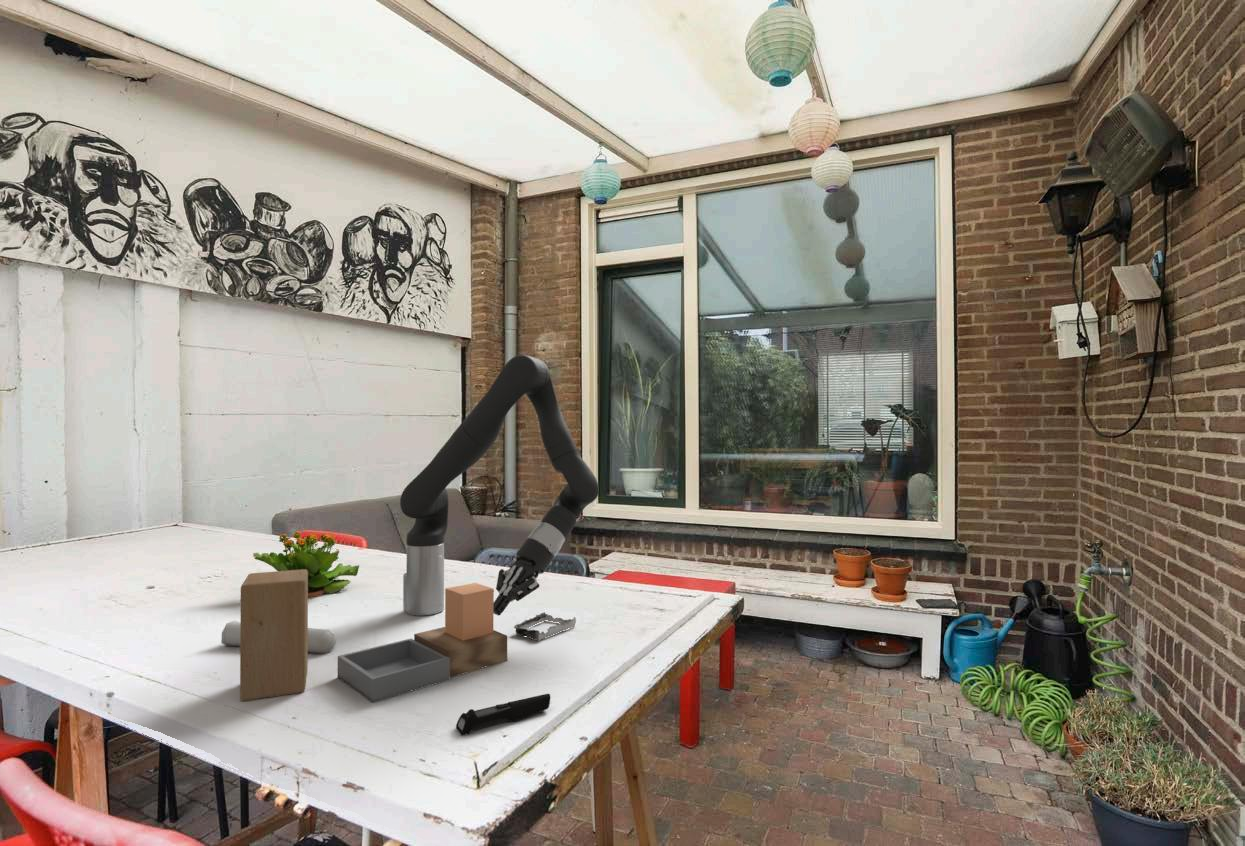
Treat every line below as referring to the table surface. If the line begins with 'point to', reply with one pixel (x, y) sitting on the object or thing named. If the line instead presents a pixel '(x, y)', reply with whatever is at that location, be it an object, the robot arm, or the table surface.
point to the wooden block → (273, 634)
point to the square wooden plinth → (466, 649)
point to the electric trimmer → (501, 713)
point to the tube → (316, 638)
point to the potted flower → (311, 562)
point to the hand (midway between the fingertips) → (494, 612)
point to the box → (393, 669)
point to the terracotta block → (469, 611)
